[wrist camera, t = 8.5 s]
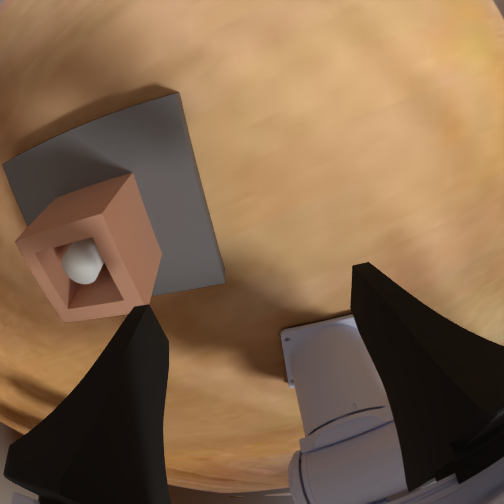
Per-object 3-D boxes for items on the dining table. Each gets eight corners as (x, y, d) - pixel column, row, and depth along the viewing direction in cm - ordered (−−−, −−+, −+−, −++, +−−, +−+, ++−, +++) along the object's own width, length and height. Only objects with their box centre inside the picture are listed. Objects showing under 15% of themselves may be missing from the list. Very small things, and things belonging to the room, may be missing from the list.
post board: (224, 269, 21) (227, 335, 16) (80, 295, 21) (55, 353, 16) (179, 92, 14) (156, 102, 9) (14, 157, 15) (-41, 194, 10)
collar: (162, 253, 18) (147, 311, 14) (89, 269, 18) (64, 322, 14) (133, 172, 15) (102, 213, 11) (56, 197, 15) (14, 241, 11)
